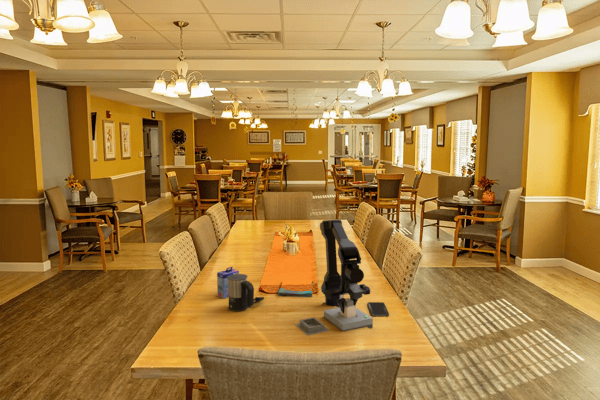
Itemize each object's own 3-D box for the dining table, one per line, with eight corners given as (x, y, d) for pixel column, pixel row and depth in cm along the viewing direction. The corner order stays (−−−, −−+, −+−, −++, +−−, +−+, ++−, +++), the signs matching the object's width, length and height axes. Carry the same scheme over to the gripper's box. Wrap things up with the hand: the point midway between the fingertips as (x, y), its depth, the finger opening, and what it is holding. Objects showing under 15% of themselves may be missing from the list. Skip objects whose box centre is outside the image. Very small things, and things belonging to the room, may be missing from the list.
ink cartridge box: (223, 299, 217) (223, 270, 215) (216, 296, 221) (215, 267, 219) (239, 294, 224) (239, 265, 222) (232, 291, 228) (232, 263, 226)
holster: (294, 326, 185) (294, 319, 185) (316, 321, 190) (316, 315, 189) (307, 337, 175) (307, 330, 174) (330, 332, 179) (330, 325, 178)
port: (323, 319, 192) (323, 309, 192) (351, 313, 198) (352, 304, 197) (342, 334, 178) (342, 323, 177) (372, 327, 184) (372, 317, 183)
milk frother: (224, 310, 203) (223, 278, 201) (240, 298, 218) (240, 268, 216) (252, 314, 198) (251, 281, 196) (267, 302, 213) (267, 271, 211)
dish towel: (276, 297, 221) (276, 292, 220) (282, 282, 244) (282, 277, 243) (312, 298, 219) (312, 293, 219) (314, 283, 243) (314, 278, 242)
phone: (371, 314, 195) (367, 302, 210) (371, 317, 195) (367, 304, 210) (389, 314, 195) (384, 302, 210) (389, 317, 195) (384, 304, 210)
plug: (339, 316, 189) (339, 298, 188) (348, 315, 191) (348, 296, 190) (347, 321, 184) (347, 303, 183) (355, 320, 186) (355, 301, 185)
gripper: (337, 284, 174) (337, 323, 176) (378, 277, 182) (377, 314, 184) (324, 276, 184) (324, 313, 186) (363, 270, 192) (362, 305, 194)
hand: (347, 311), depth 187 cm, fingers closed on plug, 4 cm apart
